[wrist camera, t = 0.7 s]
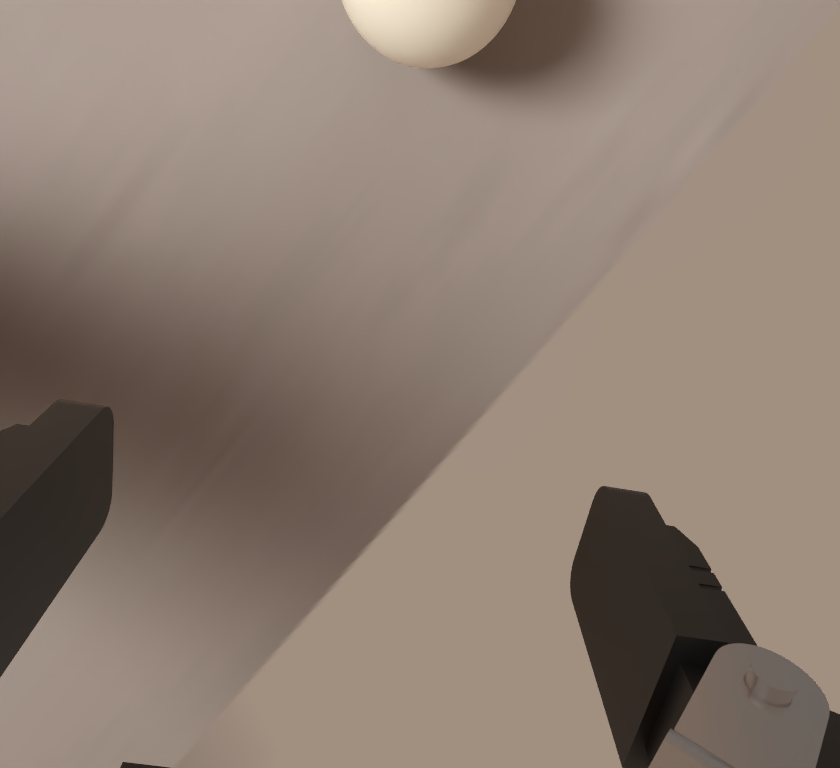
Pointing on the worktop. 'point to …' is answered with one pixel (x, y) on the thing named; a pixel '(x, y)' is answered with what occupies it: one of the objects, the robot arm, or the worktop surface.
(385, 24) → the ivory ball
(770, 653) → the robot arm
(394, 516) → the worktop surface
